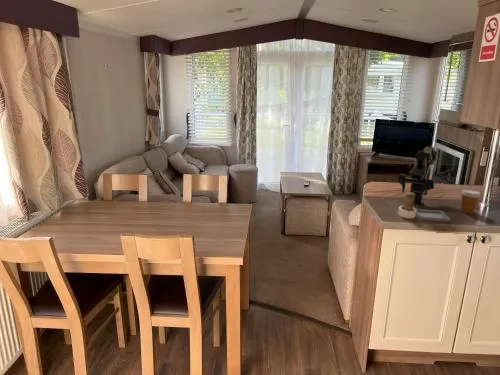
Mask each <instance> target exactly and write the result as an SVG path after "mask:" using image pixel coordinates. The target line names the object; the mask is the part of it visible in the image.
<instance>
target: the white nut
mask: <svg viewBox="0 0 500 375" xmlns="http://www.w3.org/2000/svg"><path fill="white" fill-rule="evenodd" d="M417 210H418V209H417ZM417 210H416V208H415V207H413V209H412V211H407V210H403V205H400V206H399V207H398V210H397V215H398V216H399V217H401V218H405V219H414V218H416V217H417V215H416V211H417Z"/></svg>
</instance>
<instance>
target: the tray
mask: <svg viewBox="0 0 500 375" xmlns="http://www.w3.org/2000/svg"><path fill="white" fill-rule="evenodd" d="M415 209H416V208H415ZM416 210H417V211H416V217H418V219H420V220H421V221H430V222H431V221H432V222H446V223H450V222H451V218H450V217H449V216H448V215H447V214H445V212H443V211H442V210H430V209H416Z"/></svg>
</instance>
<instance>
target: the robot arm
mask: <svg viewBox="0 0 500 375" xmlns="http://www.w3.org/2000/svg"><path fill="white" fill-rule="evenodd" d="M437 158H438V151H436V150H435V147H433V146H428V145H426V146H424V149H423V150H420V151H418V152H417V153H416V154H415V155H414V164H415V165H414V168H413V167H412V168H411V171H410V177H407V174H402V173H400V174H398V176H397V182H398V184H399V185H401V187H402V188H401V189H402V193H403V194H404V193H405V188H406V184H407V182H410V183H411V184H410V191H409V192H411V193H414V194H415V198H414V204H415V205H419V206H422V205H423V204H424V203H425V201H423V198H424V196H426V195H428V191H430V190H434V188H435V185H436V180H434V179H431V178H427V176H428V174H429V170H430V167H431V166H432V165H434V164H435V162H436V161H437ZM414 204H413V205H414Z"/></svg>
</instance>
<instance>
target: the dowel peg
mask: <svg viewBox="0 0 500 375" xmlns="http://www.w3.org/2000/svg"><path fill="white" fill-rule="evenodd" d="M404 193H405V194H404V199H403V204H402V206H403V210H407V211H412V209H413V208H414V198H415V194H414V193H412V192H410V191H408V192H407V191H406V192H404Z"/></svg>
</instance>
